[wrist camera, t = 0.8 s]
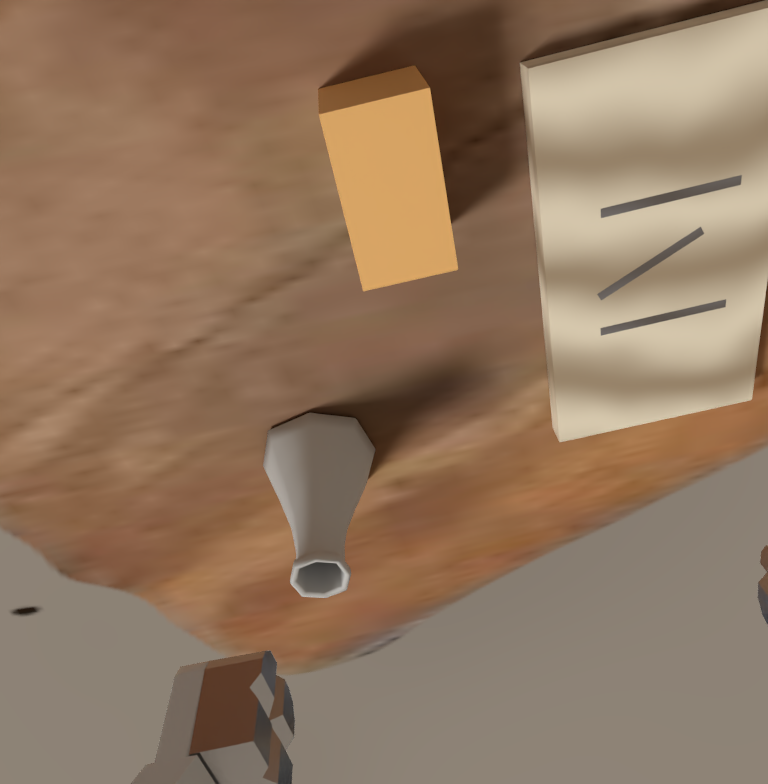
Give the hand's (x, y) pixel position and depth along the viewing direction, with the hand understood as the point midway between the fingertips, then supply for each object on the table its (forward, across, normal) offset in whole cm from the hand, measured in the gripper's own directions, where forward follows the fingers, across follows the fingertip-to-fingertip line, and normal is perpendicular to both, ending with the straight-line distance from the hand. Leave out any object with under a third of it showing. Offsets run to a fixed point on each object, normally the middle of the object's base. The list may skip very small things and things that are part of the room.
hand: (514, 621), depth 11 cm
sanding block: (+26, 0, -2) cm, 27 cm away
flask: (+28, +8, +15) cm, 33 cm away
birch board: (+27, -13, +6) cm, 31 cm away
